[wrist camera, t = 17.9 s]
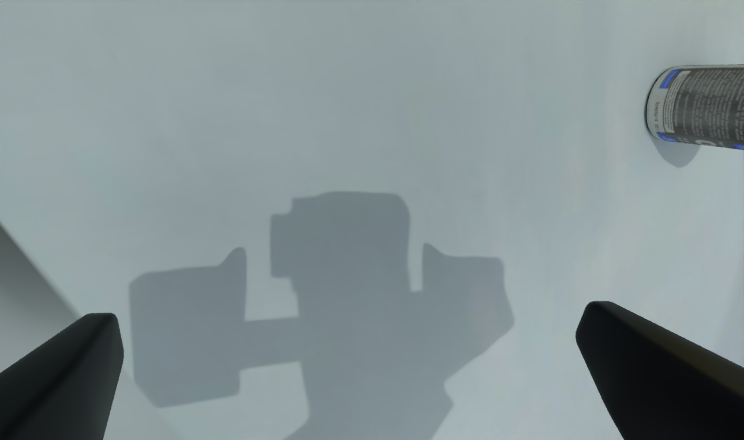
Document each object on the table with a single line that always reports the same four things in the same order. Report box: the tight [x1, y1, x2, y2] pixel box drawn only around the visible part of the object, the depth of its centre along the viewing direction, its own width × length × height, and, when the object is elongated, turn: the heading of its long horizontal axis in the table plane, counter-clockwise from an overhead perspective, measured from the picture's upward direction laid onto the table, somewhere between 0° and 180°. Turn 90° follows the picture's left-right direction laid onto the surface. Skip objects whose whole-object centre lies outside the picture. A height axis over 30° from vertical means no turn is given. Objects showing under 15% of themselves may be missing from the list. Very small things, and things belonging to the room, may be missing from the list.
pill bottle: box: [647, 64, 744, 150], centre depth 26 cm, size 5×5×8 cm
